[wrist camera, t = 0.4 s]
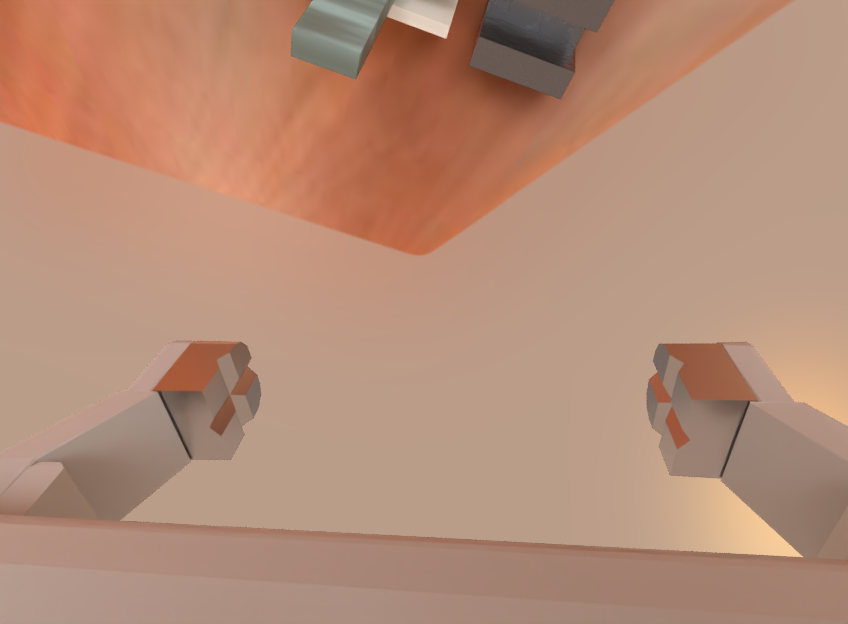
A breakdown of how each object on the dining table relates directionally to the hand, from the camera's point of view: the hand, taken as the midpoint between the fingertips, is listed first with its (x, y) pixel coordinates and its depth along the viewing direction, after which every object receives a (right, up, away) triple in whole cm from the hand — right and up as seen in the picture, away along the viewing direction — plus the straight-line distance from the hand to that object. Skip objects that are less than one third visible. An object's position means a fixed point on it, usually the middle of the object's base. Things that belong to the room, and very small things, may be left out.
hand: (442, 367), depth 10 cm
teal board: (-4, +36, +38) cm, 53 cm away
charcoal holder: (+11, +32, +41) cm, 53 cm away
